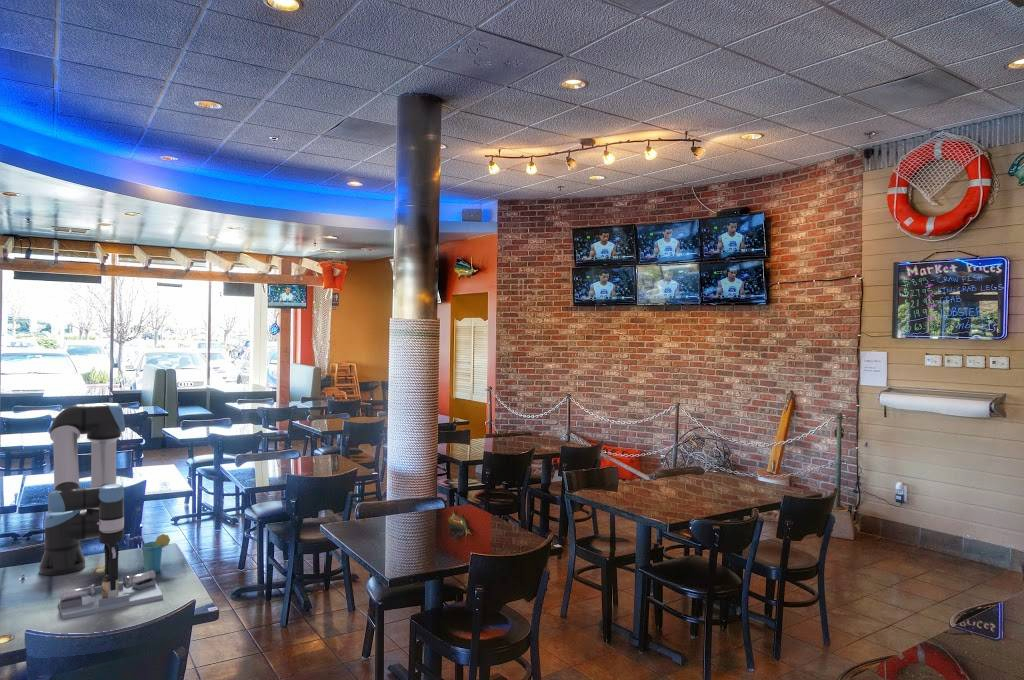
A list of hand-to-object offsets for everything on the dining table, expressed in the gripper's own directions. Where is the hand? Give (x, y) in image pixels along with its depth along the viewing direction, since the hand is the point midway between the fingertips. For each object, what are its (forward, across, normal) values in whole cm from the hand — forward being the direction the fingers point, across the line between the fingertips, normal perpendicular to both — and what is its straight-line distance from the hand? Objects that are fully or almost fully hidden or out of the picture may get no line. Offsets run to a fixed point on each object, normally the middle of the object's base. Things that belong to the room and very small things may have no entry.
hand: (111, 595), depth 243 cm
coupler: (0, 0, 0) cm, 1 cm away
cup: (+2, -23, +16) cm, 28 cm away
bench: (+2, 0, 0) cm, 2 cm away
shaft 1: (-1, 0, -10) cm, 10 cm away
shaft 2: (0, -4, +9) cm, 10 cm away
